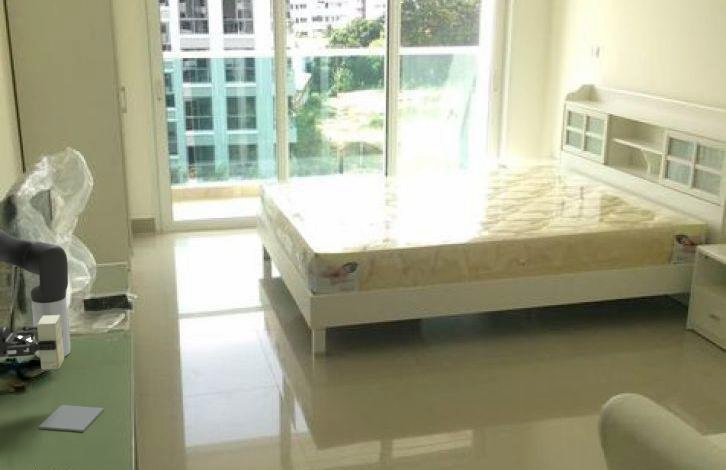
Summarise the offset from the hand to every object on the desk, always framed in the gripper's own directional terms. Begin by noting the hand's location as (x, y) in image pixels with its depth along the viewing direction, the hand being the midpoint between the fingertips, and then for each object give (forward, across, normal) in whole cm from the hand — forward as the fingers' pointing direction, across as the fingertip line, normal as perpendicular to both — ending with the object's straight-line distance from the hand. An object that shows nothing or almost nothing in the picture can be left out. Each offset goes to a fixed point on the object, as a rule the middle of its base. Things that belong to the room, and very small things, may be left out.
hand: (59, 339), depth 187 cm
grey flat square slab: (+4, -10, +16) cm, 20 cm away
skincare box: (-2, 0, +7) cm, 7 cm away
